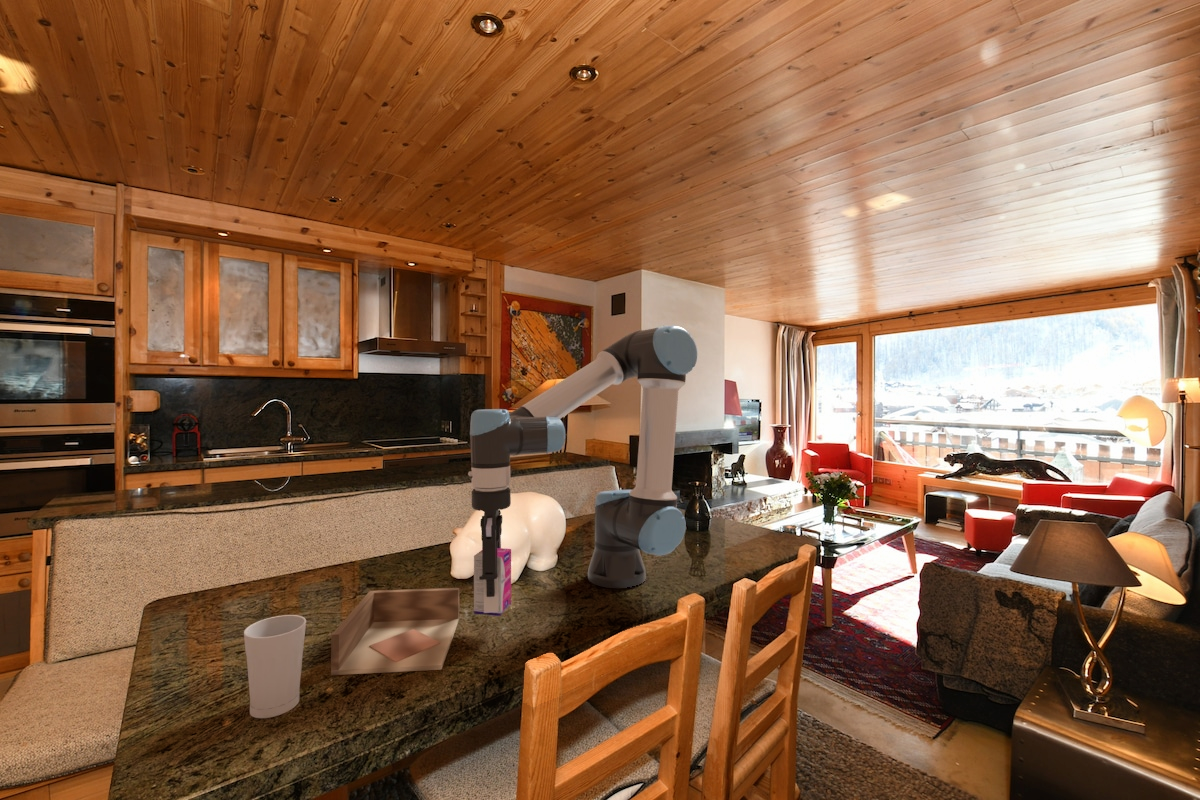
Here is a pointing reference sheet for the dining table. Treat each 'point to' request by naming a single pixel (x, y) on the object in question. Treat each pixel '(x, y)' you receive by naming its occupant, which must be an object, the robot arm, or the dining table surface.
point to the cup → (274, 664)
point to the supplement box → (503, 582)
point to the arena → (396, 632)
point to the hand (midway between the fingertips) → (493, 603)
